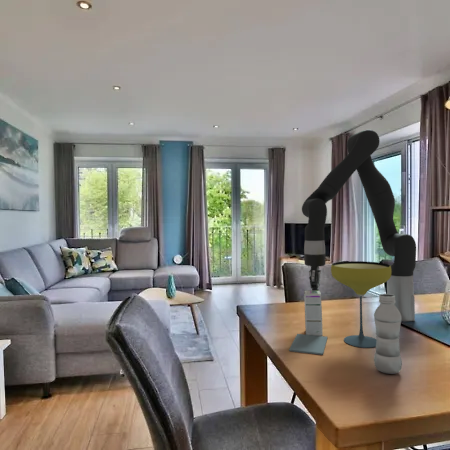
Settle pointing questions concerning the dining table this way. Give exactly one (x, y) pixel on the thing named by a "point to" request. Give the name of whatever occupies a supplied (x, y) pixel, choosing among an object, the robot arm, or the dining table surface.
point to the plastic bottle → (387, 335)
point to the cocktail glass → (361, 288)
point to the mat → (309, 344)
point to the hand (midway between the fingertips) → (315, 298)
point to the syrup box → (313, 312)
